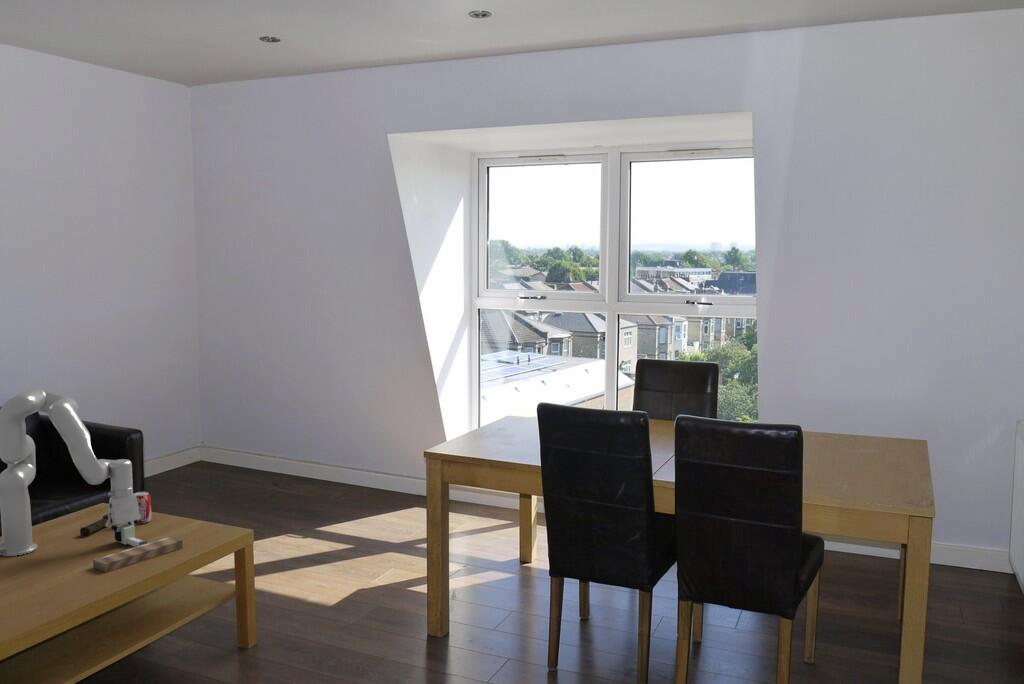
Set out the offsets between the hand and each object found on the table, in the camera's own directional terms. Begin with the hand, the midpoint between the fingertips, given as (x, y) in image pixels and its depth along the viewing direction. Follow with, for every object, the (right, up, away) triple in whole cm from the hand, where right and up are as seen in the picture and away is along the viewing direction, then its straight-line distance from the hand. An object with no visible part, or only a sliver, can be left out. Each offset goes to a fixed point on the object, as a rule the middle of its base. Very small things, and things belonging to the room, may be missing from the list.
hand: (124, 538), depth 326 cm
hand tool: (-18, 0, +17) cm, 24 cm away
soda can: (-4, +1, +26) cm, 26 cm away
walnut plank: (+12, -3, -15) cm, 20 cm away
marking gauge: (+4, -1, -2) cm, 5 cm away
